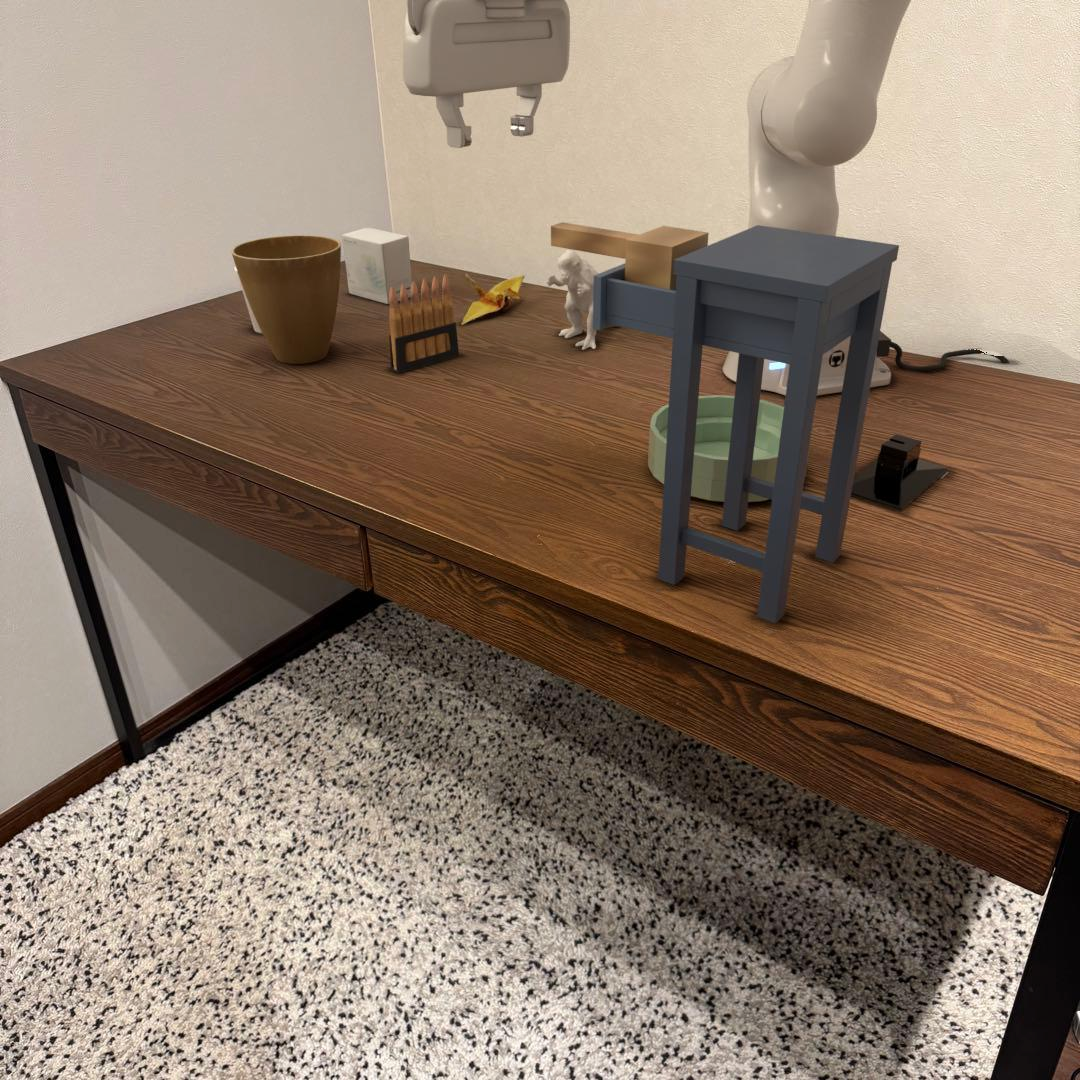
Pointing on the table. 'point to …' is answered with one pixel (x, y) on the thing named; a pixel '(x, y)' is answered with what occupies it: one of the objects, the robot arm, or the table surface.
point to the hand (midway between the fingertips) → (491, 141)
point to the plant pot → (292, 292)
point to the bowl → (719, 445)
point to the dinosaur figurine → (577, 295)
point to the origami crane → (493, 297)
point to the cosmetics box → (377, 263)
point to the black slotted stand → (896, 474)
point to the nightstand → (756, 334)
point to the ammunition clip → (422, 327)
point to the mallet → (634, 249)
